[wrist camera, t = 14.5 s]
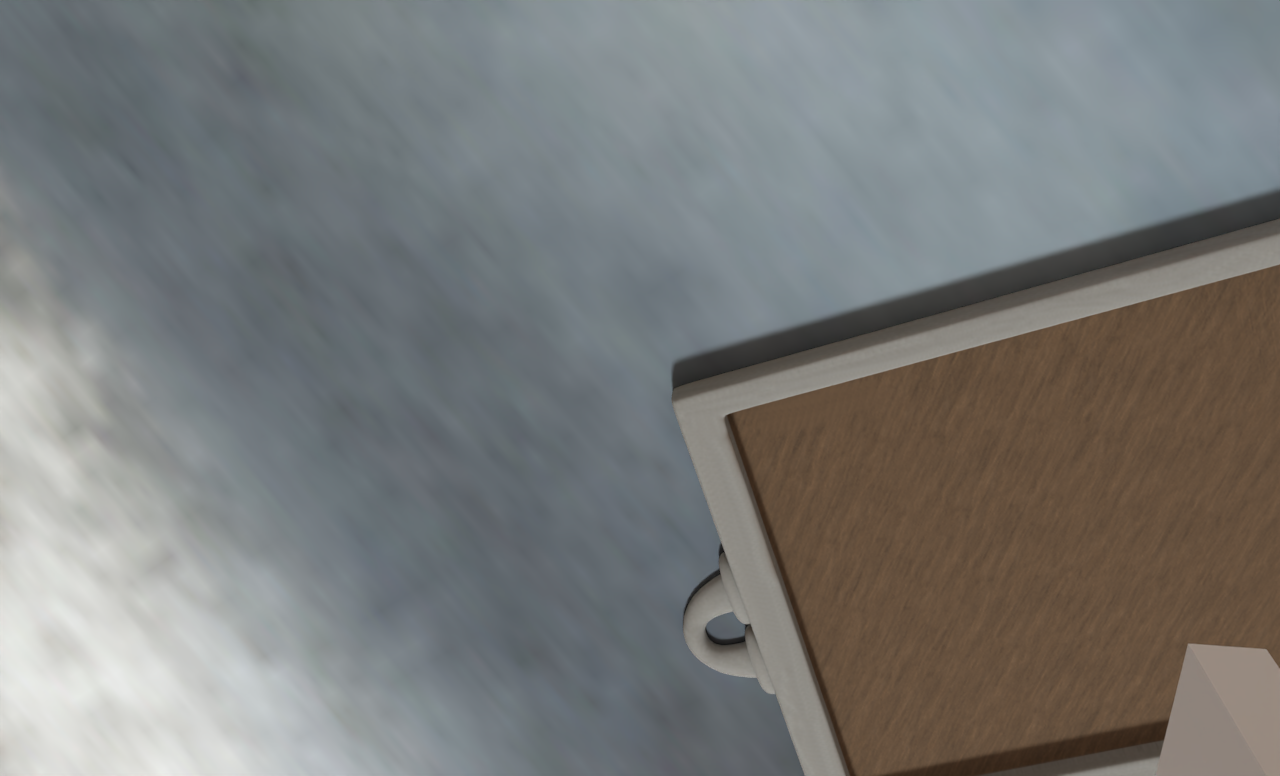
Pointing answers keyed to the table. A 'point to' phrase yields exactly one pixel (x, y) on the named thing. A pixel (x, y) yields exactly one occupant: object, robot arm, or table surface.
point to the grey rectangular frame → (1003, 517)
